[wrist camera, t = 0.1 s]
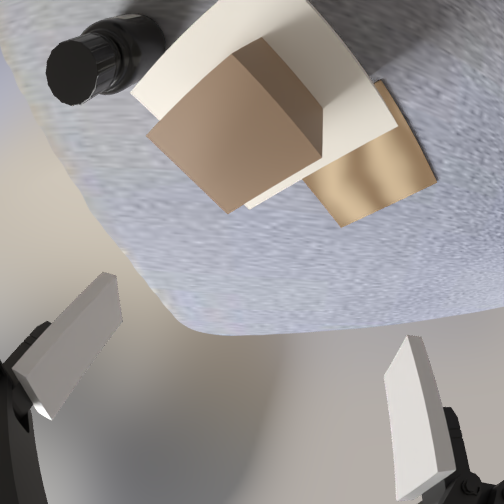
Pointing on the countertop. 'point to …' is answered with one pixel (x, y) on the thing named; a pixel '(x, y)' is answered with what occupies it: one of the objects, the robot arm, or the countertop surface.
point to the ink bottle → (104, 58)
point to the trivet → (373, 172)
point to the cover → (259, 99)
